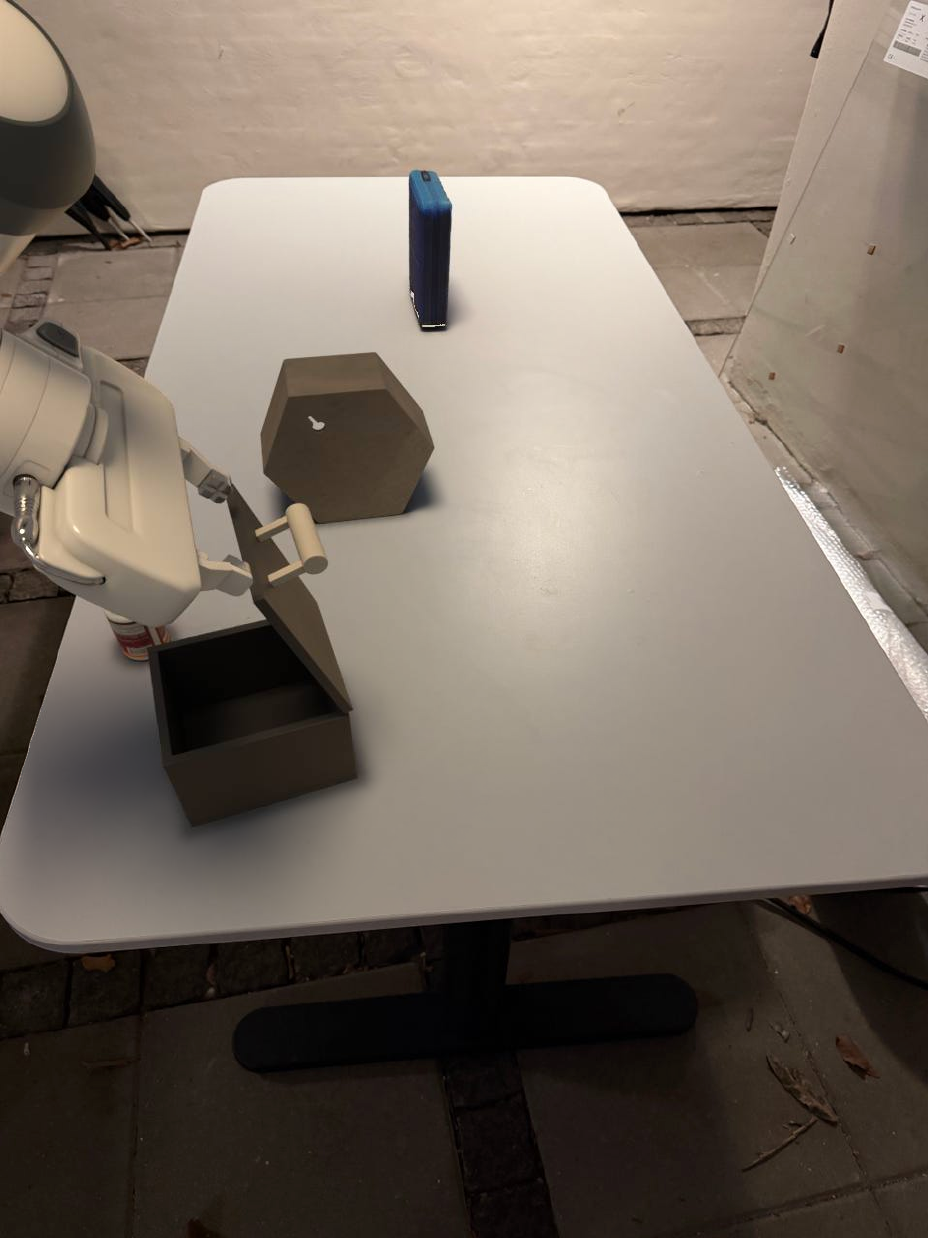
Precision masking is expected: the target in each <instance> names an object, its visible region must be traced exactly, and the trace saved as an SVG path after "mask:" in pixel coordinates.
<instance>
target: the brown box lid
mask: <svg viewBox="0 0 928 1238" xmlns="http://www.w3.org/2000/svg"><path fill="white" fill-rule="evenodd" d="M232 488H233V492H232V493H231V494H230V495H228V497H227V499H226V500H225V501H226V504H227V508H228V513H229V515H230V519H231V522H232V527H233V530H234V534H235V539H236V542H237V547H238V549H239V553H240V558H241V561H245V562H247V563H248V564H249V566H250V569H251V573H252V578H253V584H252V585H251V586H250V587H249V591H250V596H251V599H252V603H253V604H254V606H255V607H256V608H257V610H258V611H259V612H260V613H261V615H263V617H264V619H267V620H268V622H269V623H270V624H271V625H272V626H273V628H274V629H275V630H276V631H277V632H278V634H279V635H280V636H281V637H282V639H283V640H284V641H285V642H286V643H287V645H288V646H289V647H290V648H291V649H292V651H293V652H294V653H295V654H296V656H297V657H298V658H299V659H300V660H301V662H302V663H303V664H304V665H305V666H306V668H307V669H308V670H309V671H310V673H311V674H312V675H313V676H314V677H315V679H316V680H317V681H318V682H319V683H320V685H321V686H322V687H323V688H324V690H325V691H326V692H327V693H328V694H329V696H330V697H331V698H332V699H333V700H334V702H335V703H336V704H337V705H338V707H339V708H340V709H341V710H342V711H343V713H344V714H346V713H350V712H352V711H353V710H354V708H353V704H352V701H351V699H350V696H349V693H348V689H347V687H346V684H345V681H344V678H343V675H342V672H341V669H340V666H339V663H338V660H337V656H336V654H335V651H334V649H333V646H332V641H331V639H330V636H329V633H328V630H327V627H326V625H325V621H324V618H323V616H322V612H321V610H320V606H319V604H318V601H317V600H316V599H315V597H314V596H313V594H312V593H311V592H310V589H308V587H307V586H306V584H305V583H304V581H303V580H302V578H300V576H301V575H303V574H305V573H307V574H309V575H313V576H314V575H319V574H321V573H323V572H324V571H326V570H327V568H328V566H329V560H328V557H327V555H326V552H325V549H324V547H323V543H322V540H321V538H320V536H319V533H318V530H317V527H316V524H315V521H314V519H313V518H312V516H311V513H310V511H309V508H308V507H307V506H306V505H304V504H301V503H296V502H295V503H293V504H291V505H289V506H288V507H287V508H286V510H285V513H284V514H285V515H284V516H282V517H280V518H278V519H276V520H274V521H272V522H270V523H268V524H266V525H263V524H262V522H261V521H260V519H259V518H258V517H257V516H256V514H255V512H254V511H253V509H252V508H251V507H250V506H249V505H248V503H247V501H246V500H245V499H244V497H243V495H242V494H241V493H240V491H239V490H238V489H237V487H236V486H235V485H234V483H233V482H232ZM287 530H290V534H291V536H292V539H293V542H294V545H295V549H296V552H297V554H298V558H299V559H298V560H297V561H295V562H292V563H290V562H289V561H288V559H287V558H286V556H285V555H284V553H283V552H282V551H281V549H280V548H279V546H278V545H277V544H276V542H275V541H274V539H273V538H272V537H275V536H276V535H278V534H281V533H282V532H284V531H287Z"/></svg>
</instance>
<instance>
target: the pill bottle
mask: <svg viewBox="0 0 928 1238" xmlns="http://www.w3.org/2000/svg"><path fill="white" fill-rule="evenodd" d="M103 612H104V616H105V618H106V620H107V622H108V624H109V626H110V628H111V630H112V633H113V634H114V636H115V639H116V640H117V643H118V645H119V647H120V649H121V651H122V653H123V654H124V655H125V656H126V657H127V658H128V659H130V660H134V661H147V660H149V659H148V652H147V647H150V646H154V645H159V644H163V643H167V642H170V634H169V632H168V629H167V627H166V626H167V625H165V626H161V627H157V628H153V627H148V626H145V625H142V624H139V623H137V622H134V621H132V620H129V619H127V618H125V617H122V616H120V615H117V614H115V613H113V612H111V611H108V610H106V609H104V608H103Z"/></svg>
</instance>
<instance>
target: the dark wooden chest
mask: <svg viewBox="0 0 928 1238" xmlns="http://www.w3.org/2000/svg"><path fill="white" fill-rule="evenodd" d="M147 652H148V659H147V660H148V666H149V674H150V682H151V688H152V696H153V697H152V698H153V705H154V710H155V711H154V712H155V719H156V726H157V733H158V743H159V749H160V756H161V763H162V765H161V766H162V768H163V770H164V773H165V774H166V777H167V779H168V780H169V783H170V785H171V788H172V789H173V791H174V793H175V795H176V798H177V800H178V803H179V805H180V806H181V809H182V810H183V812H184V815H185V817H186V819H187V821H188V823H189V825H190V827H191V828H193V827H197V826H199V825H203V824H207V823H210V822H213V821H216V820H221V819H223V818H226V817H230V816H233V815H237V814H240V813H244V812H247V811H250V810H254V809H257V808H260V807H265V806H266V805H271V804H273V803H278V802H281V801H285V800H286V799H290V798H294V797H297V796H301V795H305V794H308V793H311V792H314V791H317V790H321V789H324V788H328V787H331V786H335V785H338V784H341V783H345V782H347V781H351V780H354V779H357V778H358V773H357V766H356V758H355V750H354V743H353V734H352V733H353V732H352V727H351V725H352V724H351V718H350V712H348V713H346V714H344V713H343V711H342V710H341V709H340V708H339V707H338V705H337V704H336V703H335V702H334V700H333V699H332V698H331V697H330V696H329V694H328V693H327V692H326V691H325V690H324V688H323V687H322V686H321V685H320V683H319V682H318V681H317V680H316V679H315V677H314V676H313V675H312V674H311V673H310V671H309V670H308V669H307V668H306V666H305V665H304V664H303V663H302V662H301V660H300V659H299V658H298V657H297V656H296V654H295V653H294V652H293V651H292V649H291V648H290V647H289V646H288V645H287V643H286V642H285V641H284V640H283V639H282V637H281V636H280V635H279V634H278V632H277V631H276V630H275V629H274V628H273V626H272V625H271V624H270V623H269V622H268V620H267V619H266V618H264V619H261V620H260V619H259V620H257V621H252V622H248V623H244V624H240V625H235V626H231V627H227V628H223V629H220V630H214V631H209V632H206V633H202V634H201V633H200V634H197V635H193V636H187V637H184V638H180V639H176V640H172V641H169V642H167V643H163V644H159V645H154V646H150V647H147Z"/></svg>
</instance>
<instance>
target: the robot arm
mask: <svg viewBox="0 0 928 1238" xmlns="http://www.w3.org/2000/svg"><path fill="white" fill-rule="evenodd" d="M96 167H97V149H96V142H95V136H94V131H93V126H92V122H91V118H90V114H89V111H88V108H87V104H86V102H85V98H84V96H83V93H82V91H81V88H80V86H79V83H78V82H77V79H76V77H75V75H74V73H73V71H72V69H71V67H70V65H69V63H68V61H67V60H66V58H65V57H64V54H63V53H62V51H61V50H60V48H59V47H58V45H57V44H56V43H55V41H54V40H53V39H52V38H51V36H50V35H49V34H48V32H47V31H46V30H45V29H44V27H42V25H41V24H40V23H39V22H38V21H37V20H36V19H35V18H34V17H33V16H32V15H30V13H29V12H28V11H26V10H25V9H24V8H23V7H22V6H21V5H20V4H18V3H17V2H15V1H14V0H0V277H2V276H3V275H4V274H5V273H6V272H7V271H8V269H10V267H12V265H13V263H14V262H15V261H16V260H17V259H18V258H19V256H20V255H21V254H22V252H23V251H24V250H25V249H26V248H27V247H28V246H29V244H30V243H31V242H32V240H33V239H35V237H36V235H38V234H39V233H40V232H41V231H43V230H45V229H46V228H48V227H49V226H50V225H51V224H52V223H54V221H56V220H57V219H58V218H59V217H61V216H62V215H63V214H64V213H65V212H66V211H67V210H68V209H70V208H71V207H72V206H73V205H75V204H76V203H77V202H78V201H79V200H80V199H81V198H82V197H83V196H84V195H85V194H87V192H88V190H89V189H90V187H91V185H92V183H93V181H94V177H95V173H96ZM175 411H176V410H175V406H174V404H173V403H172V401H171V400H170V399H169V398H168V397H167V396H166V395H165V394H164V393H163V392H162V391H161V390H160V389H159V388H158V387H157V386H155V385H154V384H153V383H151V382H149V381H148V380H146V379H145V378H144V377H142V376H140V375H139V374H137V373H136V372H135V371H134V370H131V369H130V368H128V367H126V366H125V365H123V364H122V363H120V362H118V361H116V360H115V359H113V358H112V357H110V356H108V355H107V354H105V353H103V352H101V351H100V350H98V349H96V348H94V347H92V346H91V347H90V346H87V345H81V339H80V335H79V334H78V333H77V332H76V331H75V330H73V328H71V327H70V326H68V325H66V324H65V323H63V322H62V321H60V320H58V319H56V318H54V317H51V316H44V317H42V318H40V319H39V320H38V321H37V322H36V323H35V324H33V325H32V326H31V327H29V328H28V329H27V330H25V331H23V332H21V333H20V334H19V335H18V336H17V335H15V334H13V333H11V332H10V331H7V330H5V329H3V328H2V327H0V512H1V513H3V514H7V515H9V516H11V517H13V519H12V520H11V521H12V522H11V526H10V535H11V539H12V542H13V543H14V545H16V546H18V547H19V548H21V551H23V553H24V554H25V556H26V557H27V558H28V559H29V560H30V561H31V563H32V567H34V569H36V570H37V571H38V572H40V573H42V574H44V575H45V576H46V577H47V578H48V579H49V580H50V581H52V582H53V583H55V584H56V586H59V587H60V588H62V589H63V590H65V591H67V592H69V593H71V594H72V595H75V596H76V597H79V598H81V599H82V600H85V601H86V602H89V603H91V604H93V605H95V606H96V607H97V606H98V607H100V608H102V609H103V610H104V609H106V610H108V611H111V612H113V613H115V614H117V615H120V616H122V617H125V618H127V619H129V620H132V621H134V622H137V623H139V624H142V625H145V626H148V627H153V628H157V627H161V626H168V625H171V624H173V623H174V622H175V621H176V620H177V619H178V618H179V617H180V616H181V615H182V614H183V613H184V612H185V611H186V610H187V609H188V608H189V606H190V605H191V604H192V603H193V601H194V600H196V598H197V597H198V596H199V594H200V593H201V592H208V591H215V590H217V591H220V592H222V593H225V594H227V595H229V596H232V597H241V596H243V595H244V594H245V593H246V592H247V591H248V590H250V588H249V587H250V586H251V585H252V584H253V578H252V573H251V569H250V566H249V564H248V563H247V562H245V561H242V559H239V558H238V557H236V556H235V555H232V554H230V553H228V554H227V555H226V557H225V558H224V559H223V560H222V561H216V560H209V554H208V553H206V552H205V551H202V550H200V549H198V548H197V547H196V540H195V533H194V527H193V520H192V514H191V509H190V507H191V506H190V502H189V494H188V488H187V483H186V482H189V483H190V484H191V485H192V486H194V487H196V488H197V492H198V495H199V496H201V497H202V498H205V499H207V500H210V501H211V502H213V503H216V504H223V503H225V502H226V501H227V500H226V499H227V497H228V495H230V494H231V493H232V492H233V488H232V483H233V482H232V477H231V475H230V473H228V472H227V471H225V470H223V469H220V468H219V467H217V466H216V465H213V464H212V463H211V462H210V461H209V460H208V459H207V458H206V457H205V456H204V455H203V454H202V453H201V452H200V451H199V450H198V449H197V448H196V447H195V446H194V445H193V444H192V443H191V442H190V441H188V440H186V439H185V438H182V437H181V436H180V435H179V431H178V424H177V419H176V418H177V416H176V412H175Z"/></svg>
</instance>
